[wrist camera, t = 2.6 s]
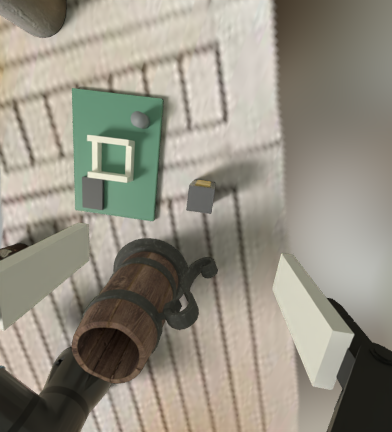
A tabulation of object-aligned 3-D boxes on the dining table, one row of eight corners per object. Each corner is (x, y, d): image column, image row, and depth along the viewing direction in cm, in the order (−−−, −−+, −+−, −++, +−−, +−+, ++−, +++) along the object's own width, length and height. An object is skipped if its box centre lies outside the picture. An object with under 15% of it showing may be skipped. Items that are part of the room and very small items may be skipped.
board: (154, 219, 44) (148, 225, 40) (78, 208, 45) (65, 213, 41) (163, 100, 38) (157, 94, 34) (75, 89, 39) (60, 82, 35)
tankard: (133, 315, 51) (83, 411, 32) (100, 252, 47) (21, 317, 28) (229, 288, 47) (238, 380, 28) (201, 217, 43) (190, 265, 24)
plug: (212, 203, 42) (211, 213, 35) (191, 200, 43) (186, 210, 35) (215, 181, 41) (215, 187, 34) (194, 178, 41) (189, 183, 34)
